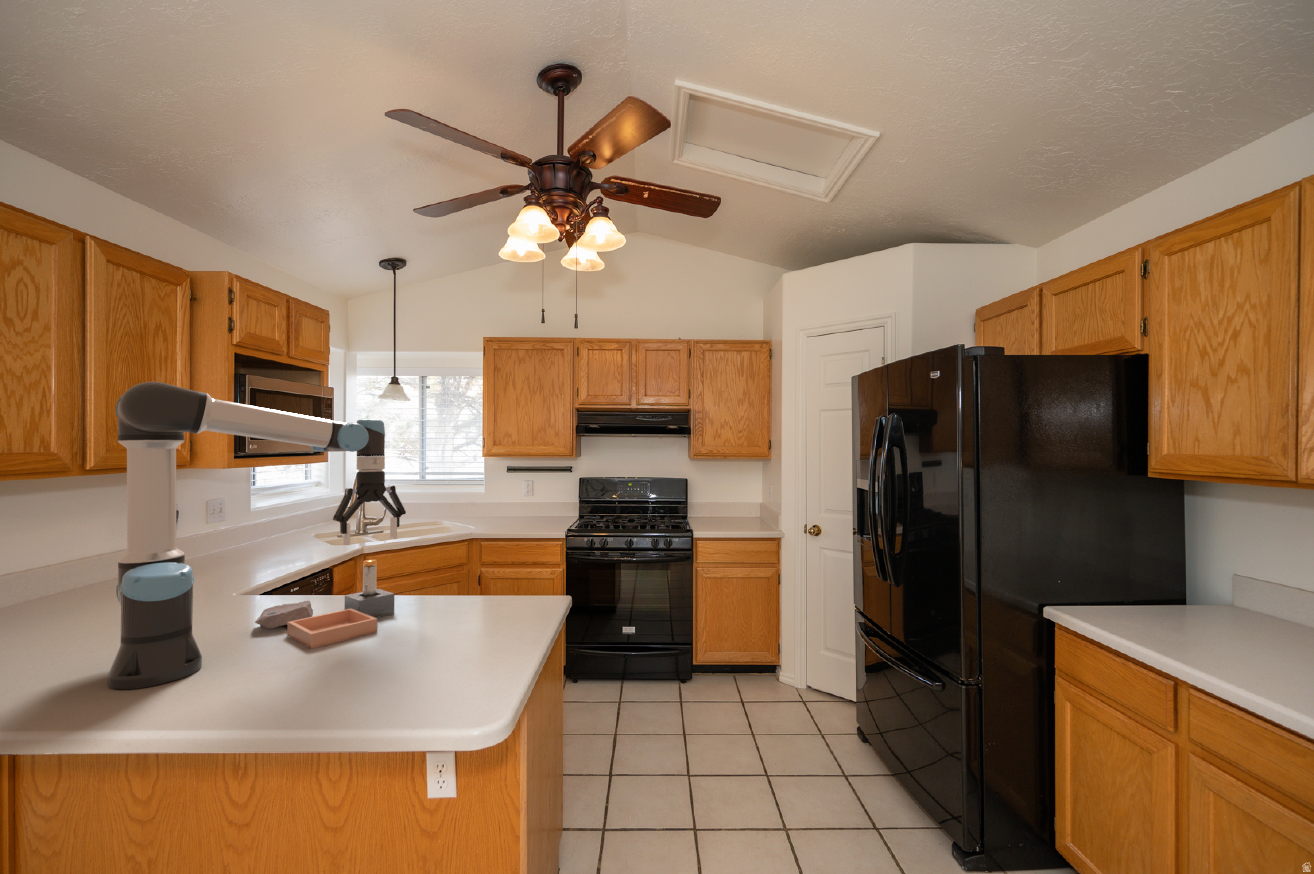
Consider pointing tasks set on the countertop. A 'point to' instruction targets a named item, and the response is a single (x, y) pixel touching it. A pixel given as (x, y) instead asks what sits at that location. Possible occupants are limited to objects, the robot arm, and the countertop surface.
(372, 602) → the block
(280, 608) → the decorative stone
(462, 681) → the countertop surface
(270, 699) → the countertop surface
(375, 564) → the pin
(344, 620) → the tray
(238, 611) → the countertop surface
